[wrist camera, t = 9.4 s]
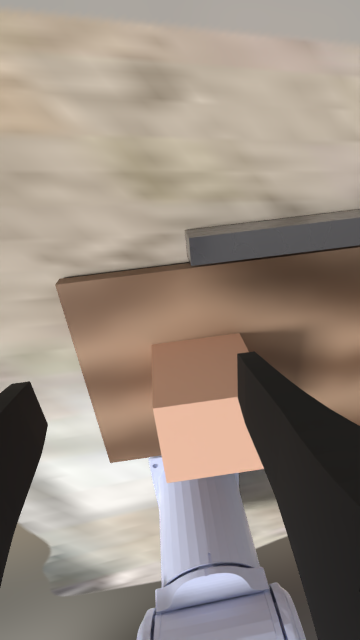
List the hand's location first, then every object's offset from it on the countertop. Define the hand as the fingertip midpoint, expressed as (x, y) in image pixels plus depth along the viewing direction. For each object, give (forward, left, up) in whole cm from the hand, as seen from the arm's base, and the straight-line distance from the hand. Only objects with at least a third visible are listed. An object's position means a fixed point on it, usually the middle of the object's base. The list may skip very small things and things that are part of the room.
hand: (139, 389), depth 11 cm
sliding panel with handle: (-7, -7, -10) cm, 14 cm away
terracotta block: (-7, -3, -9) cm, 12 cm away
